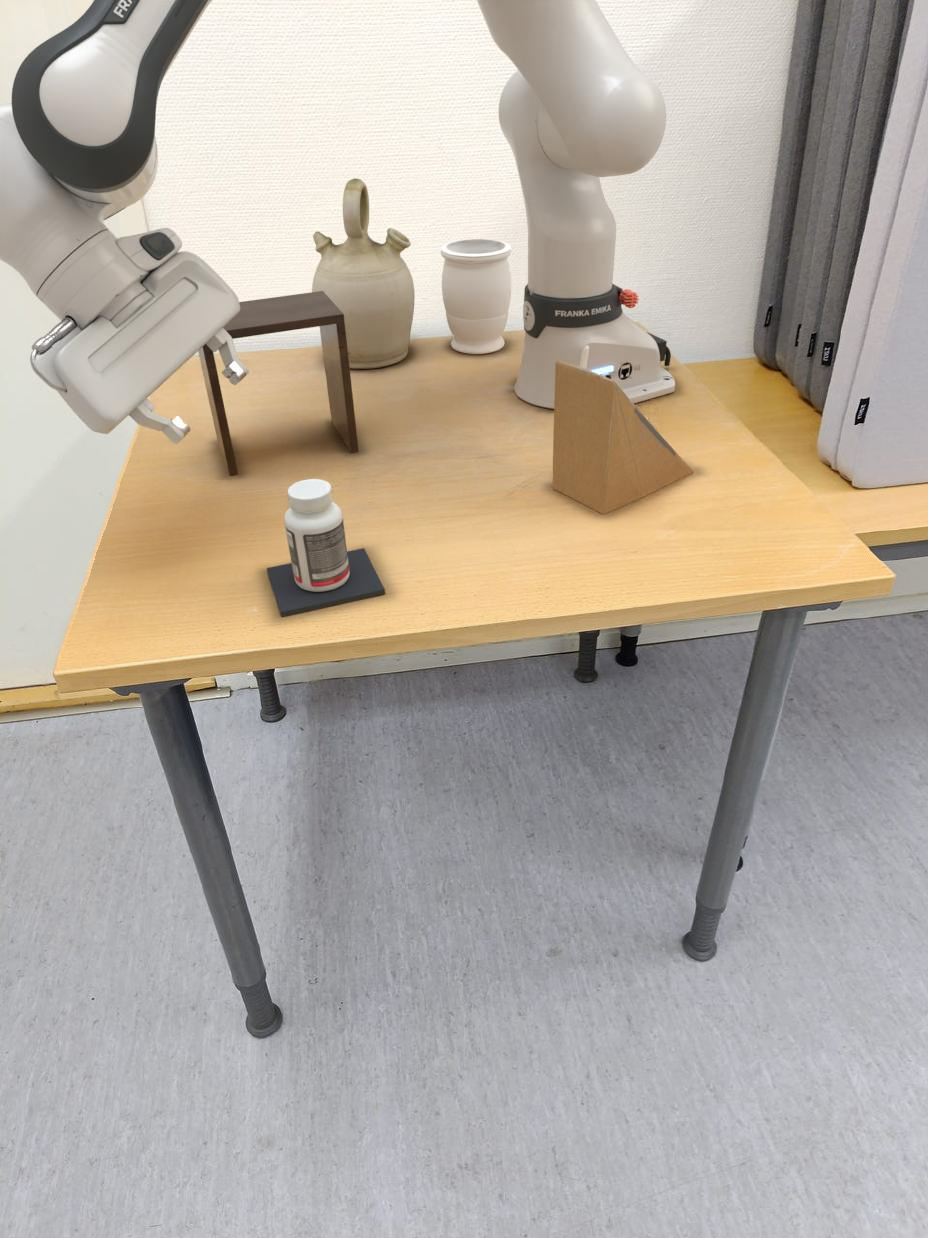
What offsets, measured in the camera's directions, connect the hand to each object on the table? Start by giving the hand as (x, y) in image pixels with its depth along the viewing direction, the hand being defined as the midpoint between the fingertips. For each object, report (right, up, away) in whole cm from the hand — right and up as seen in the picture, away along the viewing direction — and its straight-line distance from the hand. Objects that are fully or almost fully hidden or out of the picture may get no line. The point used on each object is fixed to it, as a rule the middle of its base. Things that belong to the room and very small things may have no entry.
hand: (213, 407), depth 83 cm
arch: (+2, +1, +26) cm, 26 cm away
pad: (+11, -17, +1) cm, 20 cm away
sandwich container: (+43, -4, +16) cm, 46 cm away
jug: (+9, +21, +52) cm, 56 cm away
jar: (+26, +23, +54) cm, 64 cm away
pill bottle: (+10, -17, +1) cm, 20 cm away
